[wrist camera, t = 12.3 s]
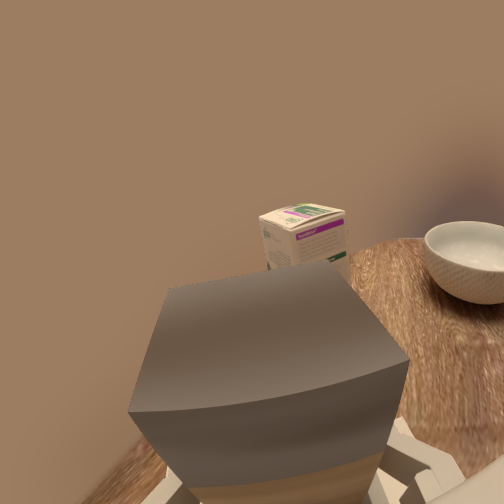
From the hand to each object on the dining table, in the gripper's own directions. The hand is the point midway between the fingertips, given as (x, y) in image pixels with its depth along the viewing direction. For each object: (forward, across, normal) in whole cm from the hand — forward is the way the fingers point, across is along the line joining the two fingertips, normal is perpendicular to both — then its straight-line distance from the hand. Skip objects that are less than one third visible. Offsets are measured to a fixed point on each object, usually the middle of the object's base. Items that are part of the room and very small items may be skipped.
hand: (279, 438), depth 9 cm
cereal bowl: (+19, -30, +11) cm, 37 cm away
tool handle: (-1, 0, +8) cm, 8 cm away
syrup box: (+18, -5, +11) cm, 22 cm away
